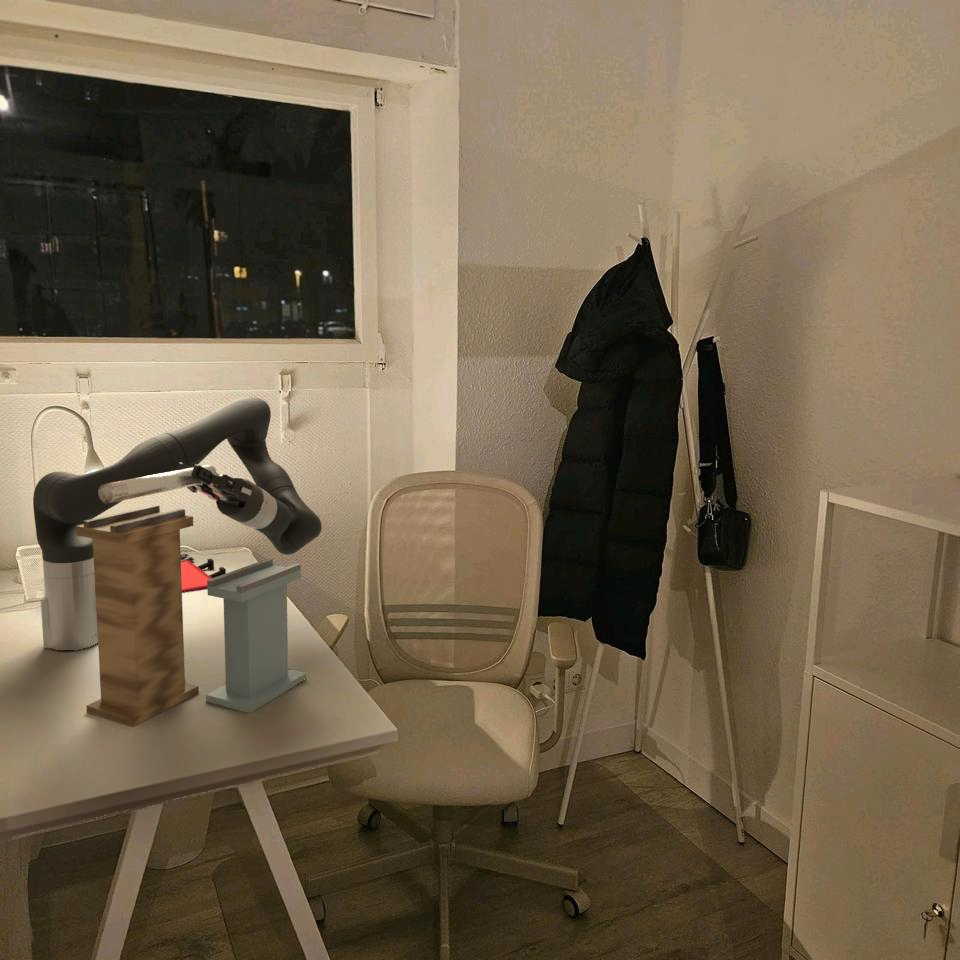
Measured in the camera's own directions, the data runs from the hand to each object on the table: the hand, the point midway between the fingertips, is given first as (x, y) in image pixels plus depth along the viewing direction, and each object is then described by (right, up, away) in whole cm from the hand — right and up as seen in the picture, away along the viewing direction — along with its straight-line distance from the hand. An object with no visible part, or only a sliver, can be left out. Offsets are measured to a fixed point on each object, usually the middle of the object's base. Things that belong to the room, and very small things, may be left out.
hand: (186, 469), depth 139 cm
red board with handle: (-25, -26, +68) cm, 77 cm away
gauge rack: (+11, -38, +3) cm, 40 cm away
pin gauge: (-2, -4, -4) cm, 6 cm away
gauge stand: (-6, -38, -3) cm, 39 cm away
